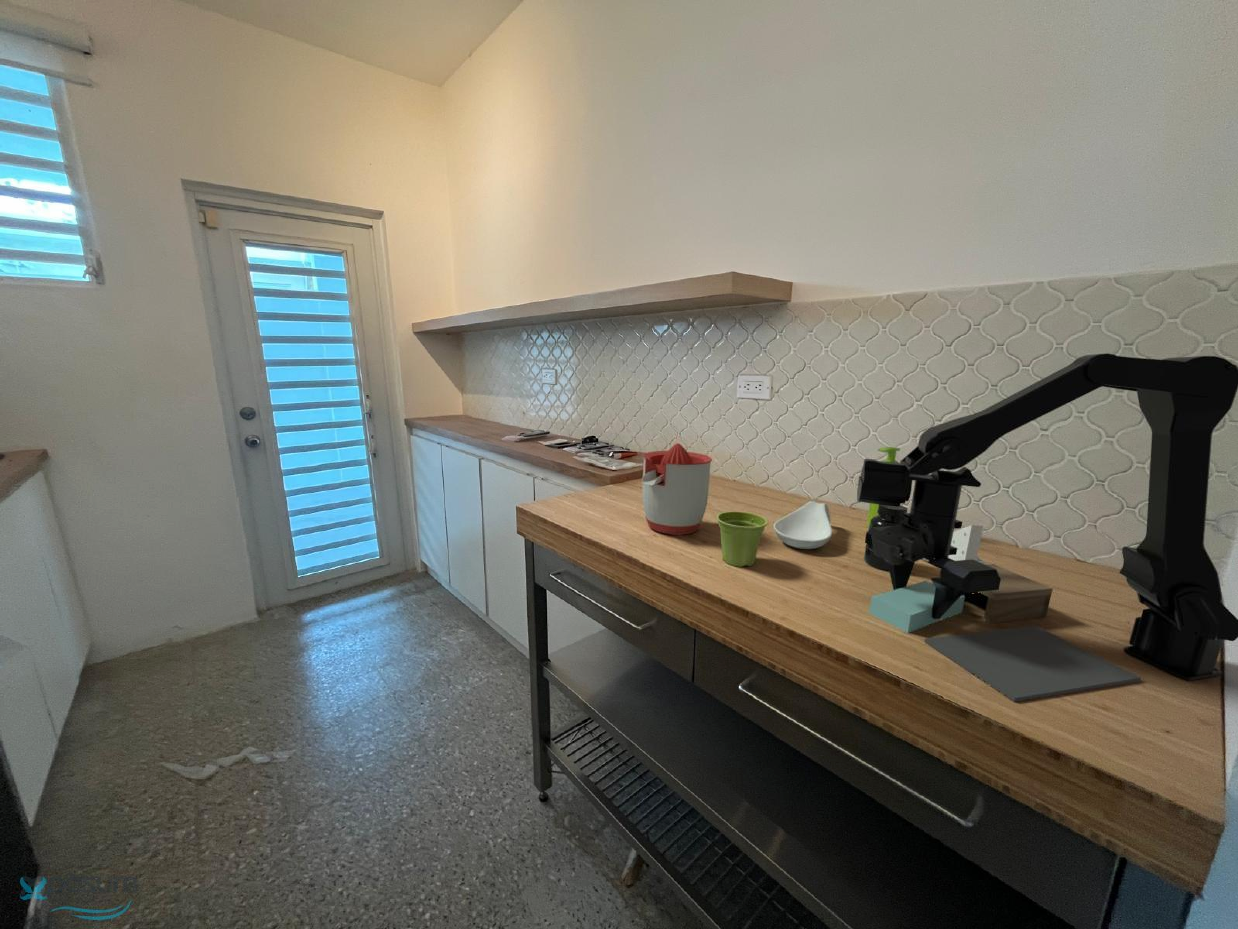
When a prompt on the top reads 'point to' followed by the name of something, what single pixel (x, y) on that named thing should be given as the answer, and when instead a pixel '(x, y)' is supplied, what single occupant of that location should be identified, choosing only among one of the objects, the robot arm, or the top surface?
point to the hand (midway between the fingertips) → (916, 606)
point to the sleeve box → (1016, 598)
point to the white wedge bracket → (967, 543)
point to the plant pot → (740, 536)
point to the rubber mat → (1030, 662)
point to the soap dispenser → (890, 458)
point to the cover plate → (910, 606)
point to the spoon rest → (805, 526)
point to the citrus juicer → (675, 489)
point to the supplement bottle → (884, 518)
